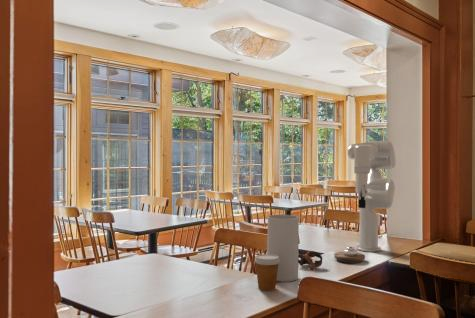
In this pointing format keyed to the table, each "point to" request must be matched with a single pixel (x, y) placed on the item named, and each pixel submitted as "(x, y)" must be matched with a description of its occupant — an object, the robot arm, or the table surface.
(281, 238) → the cylinder vase
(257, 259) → the disposable coffee cup
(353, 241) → the table surface
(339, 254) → the disc
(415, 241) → the table surface
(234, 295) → the table surface
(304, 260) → the brown ornate stand
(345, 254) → the cover
